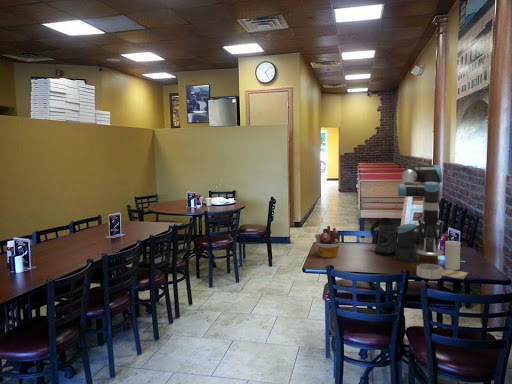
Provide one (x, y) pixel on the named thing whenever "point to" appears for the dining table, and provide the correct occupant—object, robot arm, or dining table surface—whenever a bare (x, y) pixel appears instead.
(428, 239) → the lid
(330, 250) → the bucket of meat
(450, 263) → the cup
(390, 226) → the beer stein
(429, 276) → the bowl
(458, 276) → the plate
